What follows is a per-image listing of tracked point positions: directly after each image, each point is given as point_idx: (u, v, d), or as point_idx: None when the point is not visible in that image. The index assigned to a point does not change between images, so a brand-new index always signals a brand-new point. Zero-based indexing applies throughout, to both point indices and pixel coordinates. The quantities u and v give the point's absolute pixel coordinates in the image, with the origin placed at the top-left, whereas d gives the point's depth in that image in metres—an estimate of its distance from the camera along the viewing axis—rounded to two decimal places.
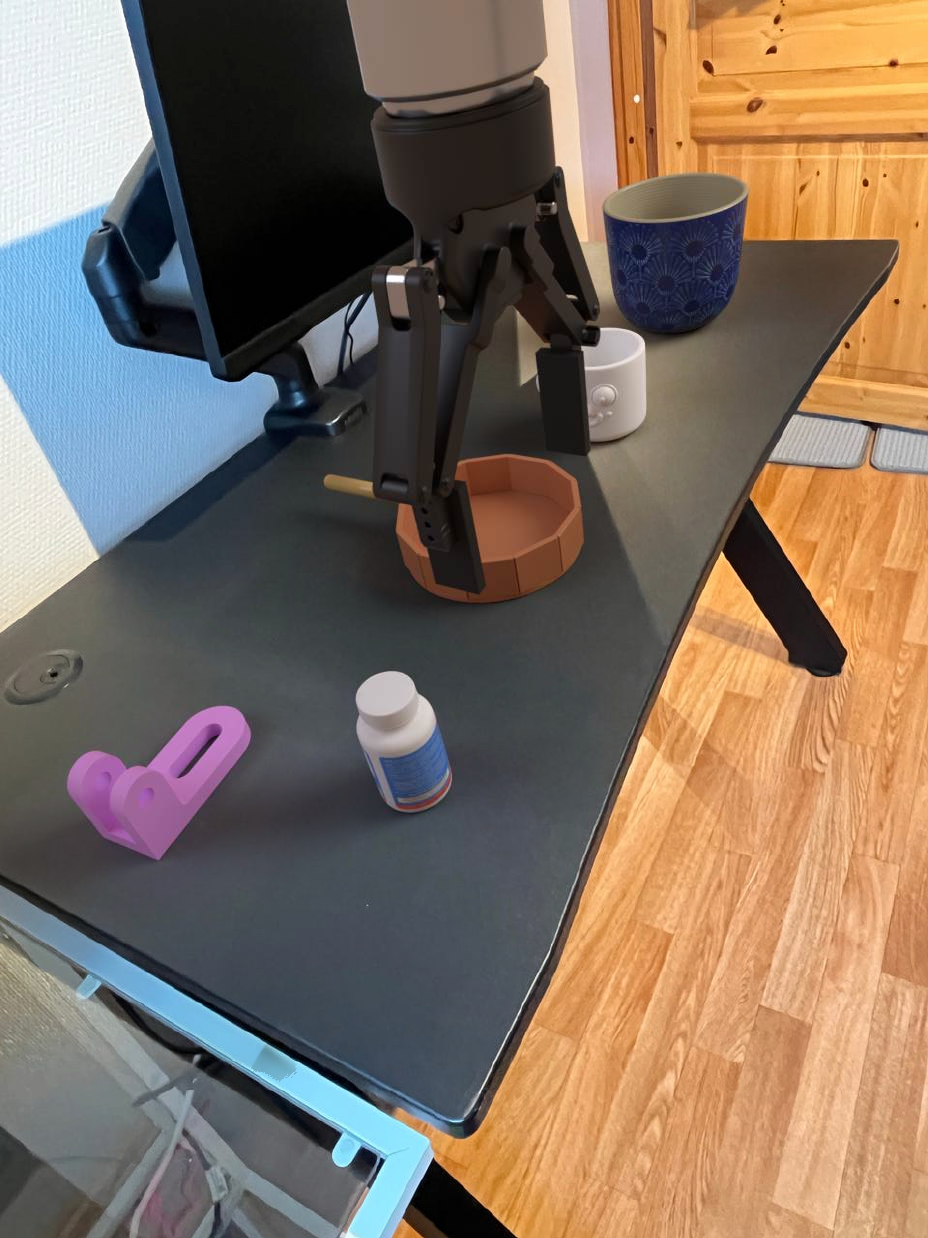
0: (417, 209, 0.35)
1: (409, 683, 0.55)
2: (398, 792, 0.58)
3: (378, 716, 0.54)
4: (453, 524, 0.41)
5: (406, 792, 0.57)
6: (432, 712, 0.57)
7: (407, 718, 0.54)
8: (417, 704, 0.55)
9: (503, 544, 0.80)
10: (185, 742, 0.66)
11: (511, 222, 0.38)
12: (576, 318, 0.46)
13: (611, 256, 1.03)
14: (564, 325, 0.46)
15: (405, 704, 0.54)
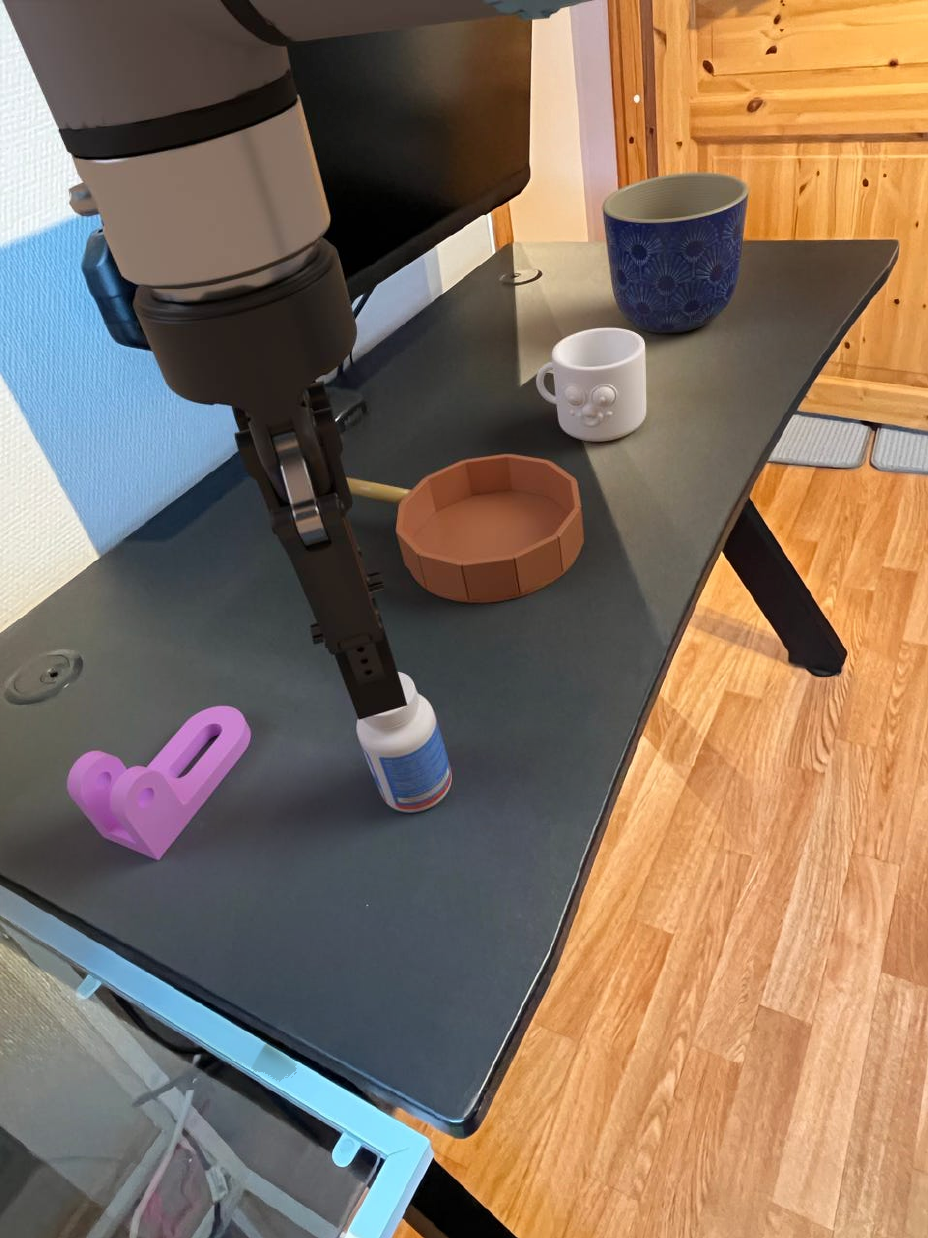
0: (256, 395, 0.29)
1: (409, 683, 0.55)
2: (398, 792, 0.58)
3: (378, 716, 0.54)
4: (377, 651, 0.42)
5: (406, 792, 0.57)
6: (432, 712, 0.57)
7: (407, 718, 0.54)
8: (417, 704, 0.55)
9: (503, 544, 0.80)
10: (185, 742, 0.66)
11: None
12: None
13: (611, 256, 1.03)
14: None
15: None
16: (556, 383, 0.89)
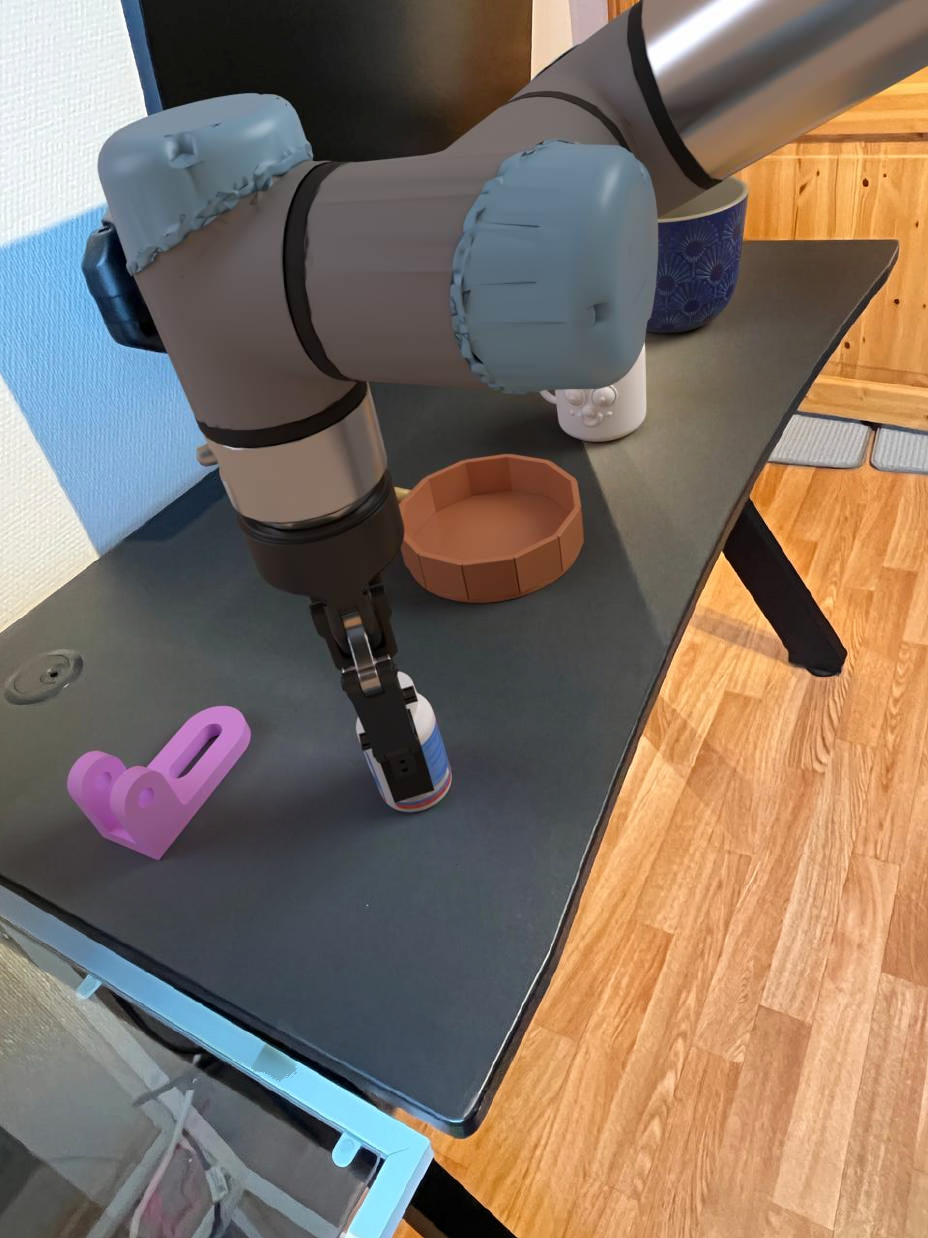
0: (332, 591, 0.39)
1: (408, 682, 0.55)
2: None
3: None
4: None
5: None
6: (431, 711, 0.57)
7: None
8: (416, 703, 0.55)
9: (503, 544, 0.80)
10: (185, 742, 0.66)
11: None
12: (397, 676, 0.50)
13: None
14: None
15: None
16: None
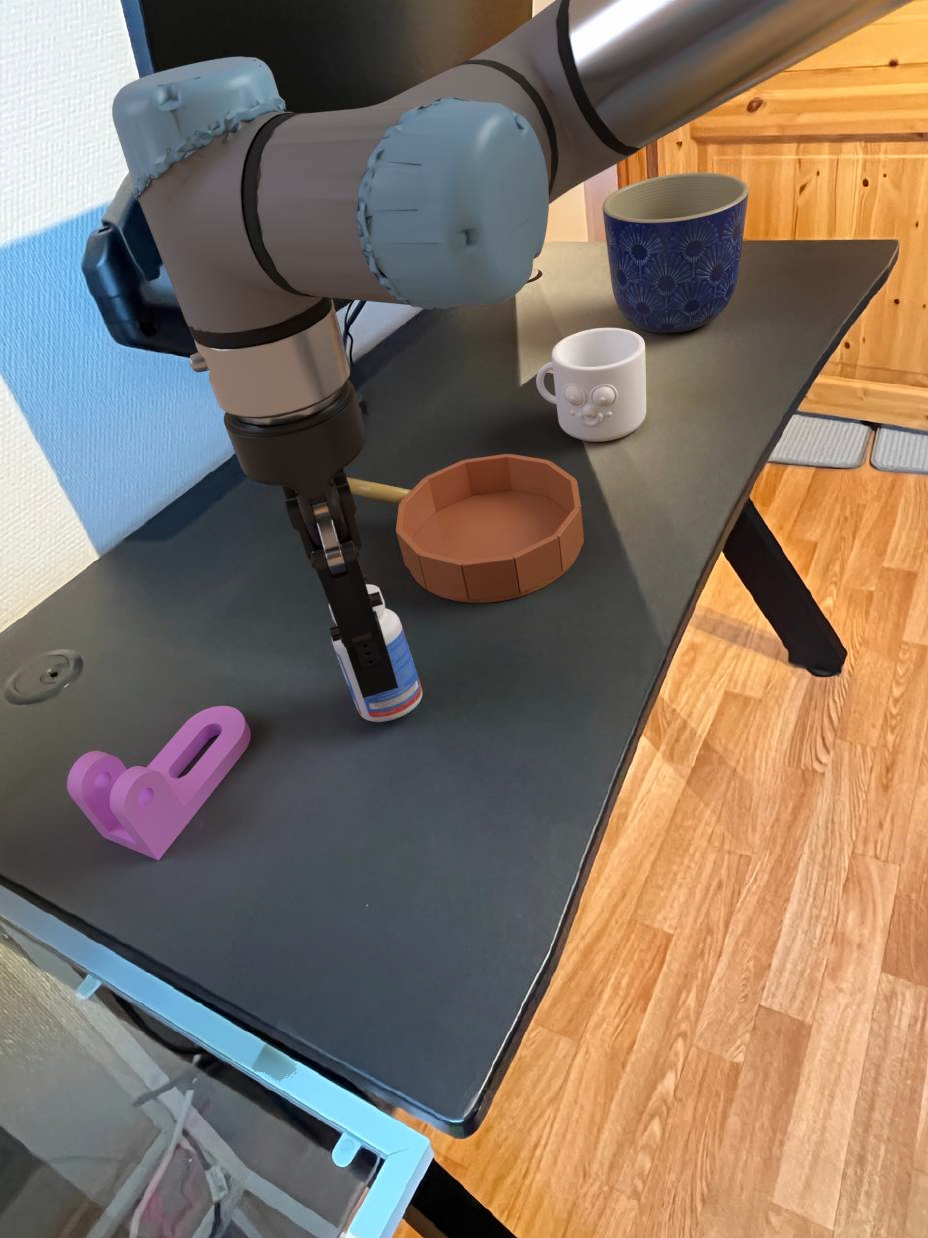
0: (303, 480, 0.46)
1: (375, 589, 0.62)
2: (368, 697, 0.63)
3: None
4: (377, 647, 0.59)
5: (375, 695, 0.63)
6: (398, 620, 0.63)
7: None
8: (382, 606, 0.62)
9: (503, 544, 0.80)
10: (185, 742, 0.66)
11: None
12: None
13: (611, 256, 1.03)
14: None
15: None
16: (556, 383, 0.89)
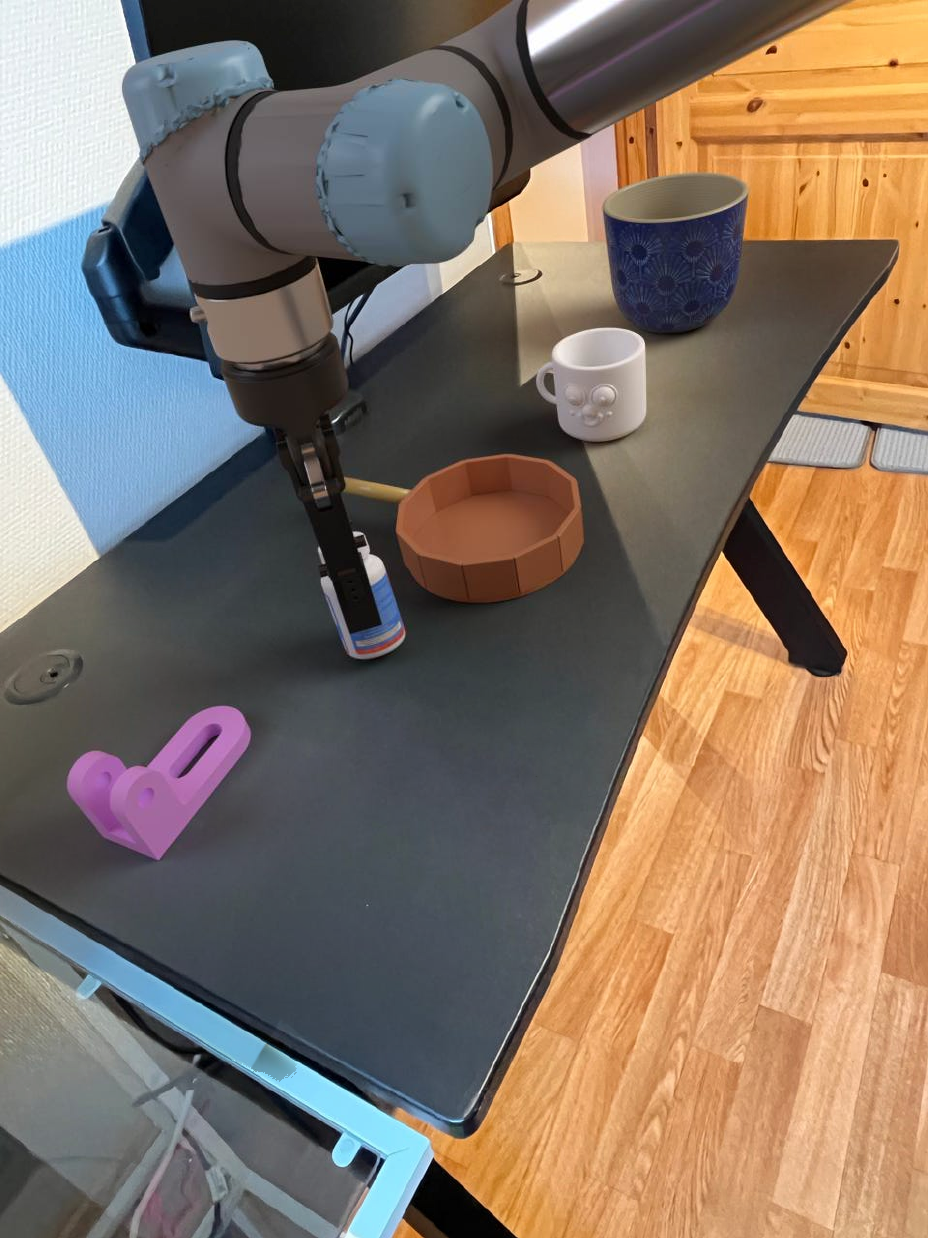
0: (291, 421, 0.52)
1: None
2: (355, 634, 0.69)
3: None
4: (361, 585, 0.64)
5: (361, 633, 0.69)
6: (382, 563, 0.69)
7: None
8: (367, 550, 0.68)
9: (503, 544, 0.80)
10: (185, 742, 0.66)
11: None
12: (350, 523, 0.63)
13: (611, 256, 1.03)
14: None
15: None
16: (556, 383, 0.89)
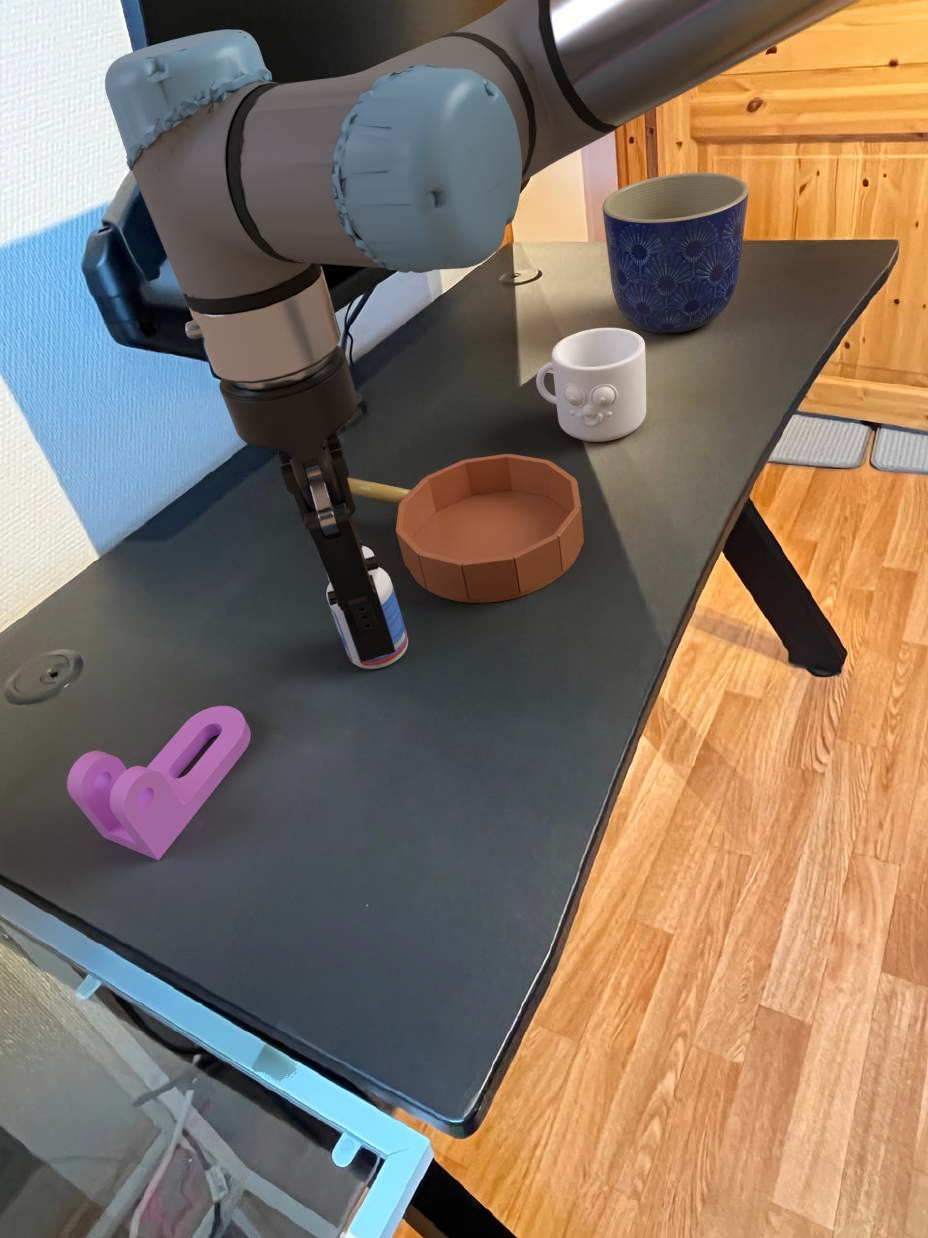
0: (296, 443, 0.48)
1: (369, 553, 0.67)
2: None
3: None
4: (373, 611, 0.60)
5: None
6: (389, 580, 0.68)
7: None
8: (376, 570, 0.66)
9: (503, 544, 0.80)
10: (185, 742, 0.66)
11: None
12: (360, 545, 0.59)
13: (611, 256, 1.03)
14: None
15: None
16: (556, 383, 0.89)
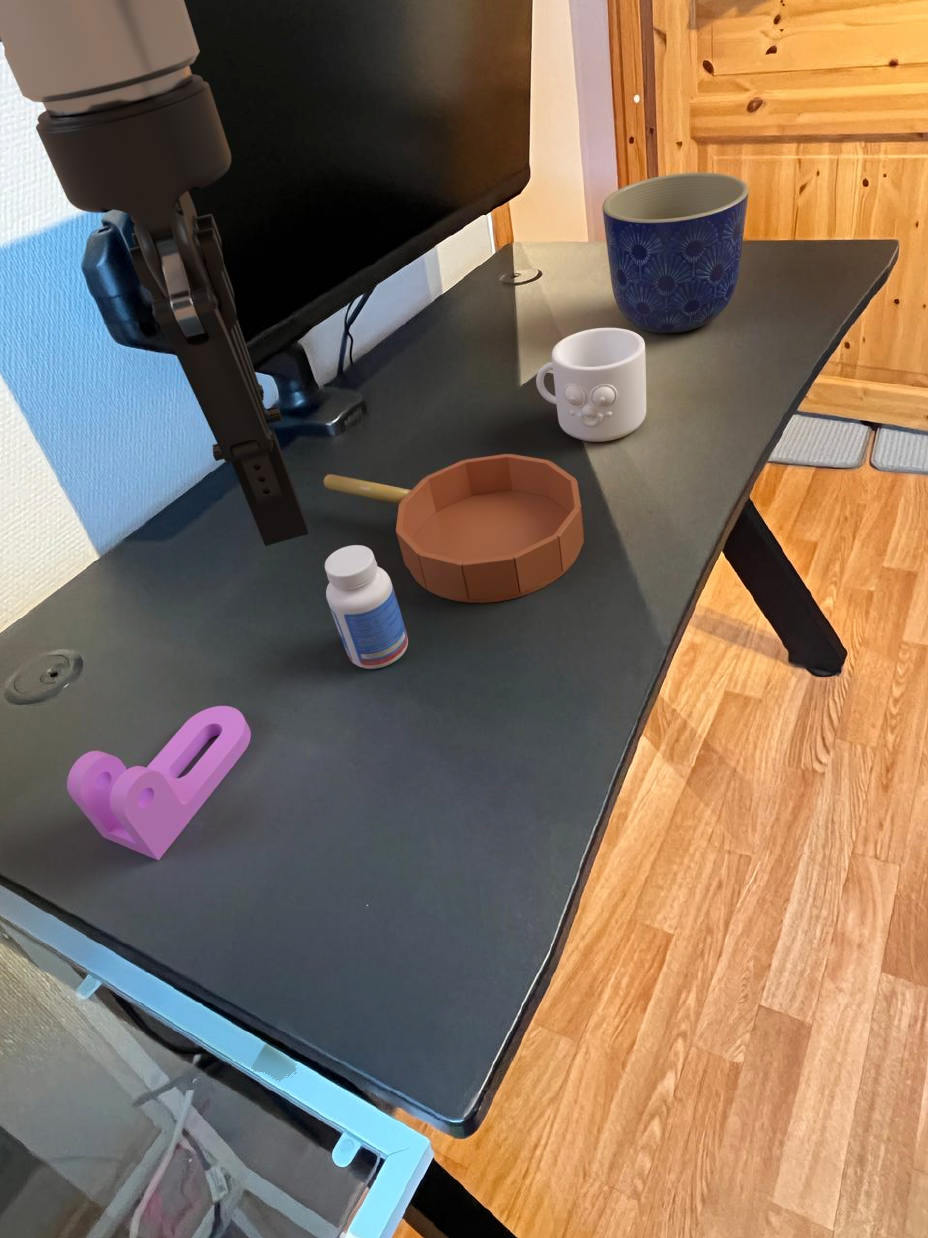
0: (137, 199, 0.35)
1: (369, 553, 0.67)
2: (361, 648, 0.69)
3: (342, 577, 0.65)
4: (275, 475, 0.48)
5: (367, 648, 0.69)
6: (389, 579, 0.68)
7: (367, 580, 0.66)
8: (375, 570, 0.66)
9: (503, 544, 0.80)
10: (185, 742, 0.66)
11: (193, 214, 0.40)
12: (257, 387, 0.47)
13: (611, 256, 1.03)
14: (249, 379, 0.46)
15: (364, 567, 0.65)
16: (556, 383, 0.89)
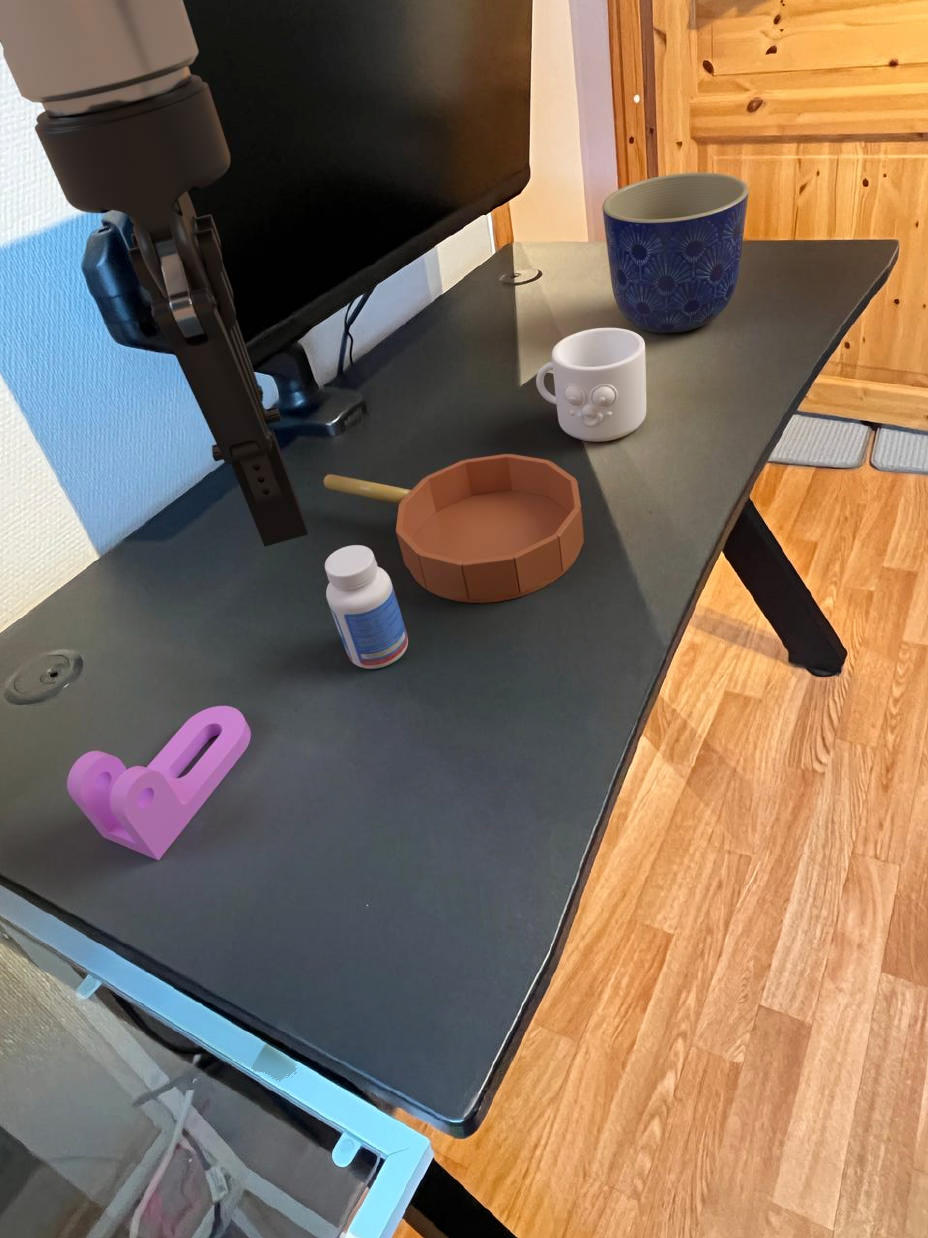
0: (136, 199, 0.35)
1: (369, 553, 0.67)
2: (361, 648, 0.69)
3: (342, 577, 0.65)
4: (275, 475, 0.48)
5: (367, 648, 0.69)
6: (389, 579, 0.68)
7: (367, 580, 0.66)
8: (375, 570, 0.66)
9: (503, 544, 0.80)
10: (185, 742, 0.66)
11: (192, 215, 0.40)
12: (256, 388, 0.47)
13: (611, 256, 1.03)
14: (249, 379, 0.46)
15: (364, 567, 0.65)
16: (556, 383, 0.89)
